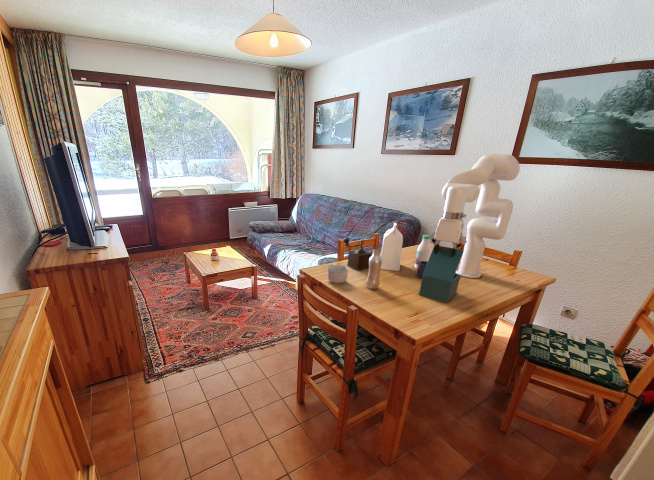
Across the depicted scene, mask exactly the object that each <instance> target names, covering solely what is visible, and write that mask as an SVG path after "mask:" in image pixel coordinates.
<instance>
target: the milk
mask: <svg viewBox="0 0 654 480" xmlns="http://www.w3.org/2000/svg"><path fill="white" fill-rule="evenodd" d="M397 225H398V224H397V222H393V227H391V228H389V229H387V230H386V231H385V233H383V239H382V245H381V252H380V253H381V254H380V257H381V258H382V264H381V268H380V270H385V271H386V270H387V271H396V272H400V268H401V261H402V251H403V242H404V236H403V234H402V233H401V232H400V230H399V229H398V228H397Z"/></svg>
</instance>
